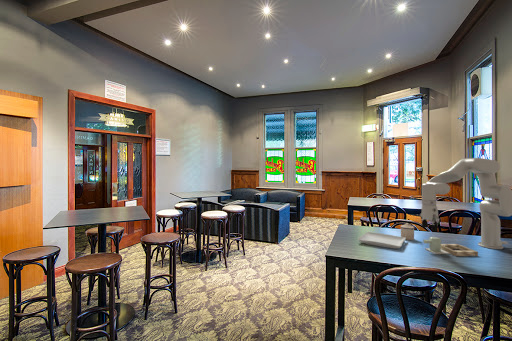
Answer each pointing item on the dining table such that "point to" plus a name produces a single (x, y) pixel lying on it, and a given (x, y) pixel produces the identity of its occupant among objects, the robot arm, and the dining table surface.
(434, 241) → the jug
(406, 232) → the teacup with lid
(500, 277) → the dining table surface
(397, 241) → the square plate
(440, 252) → the pad
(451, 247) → the stand
